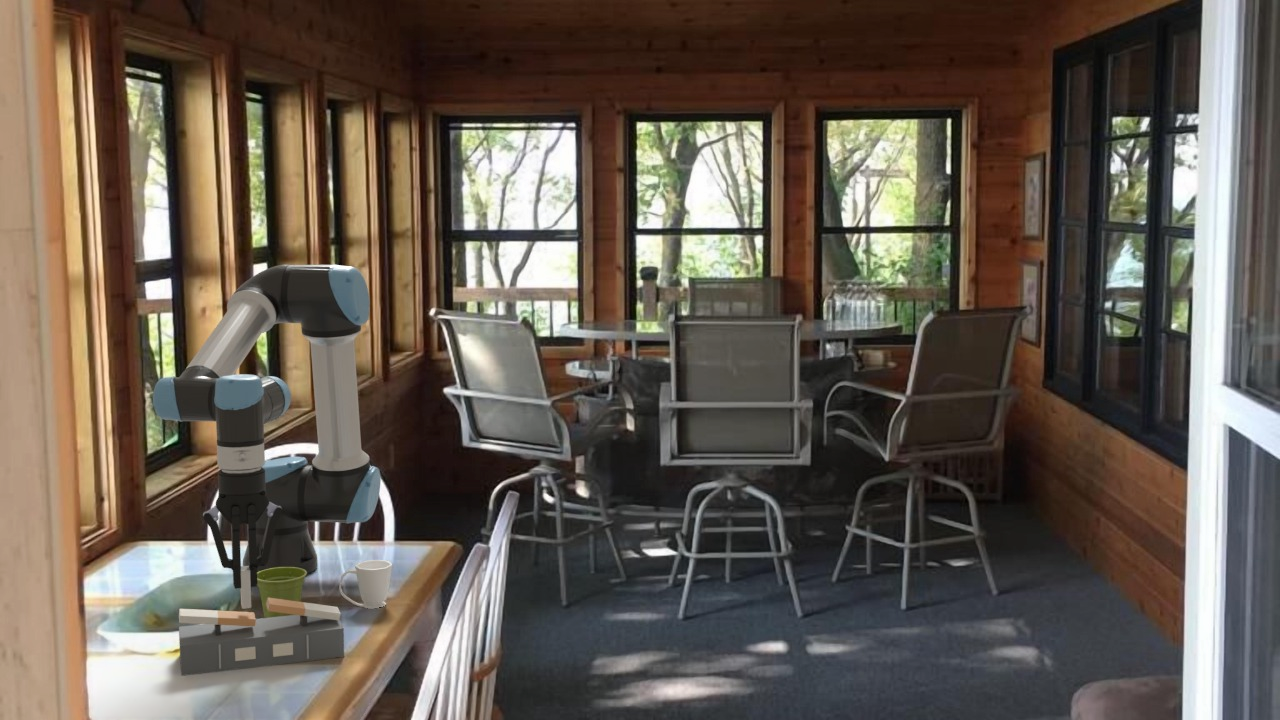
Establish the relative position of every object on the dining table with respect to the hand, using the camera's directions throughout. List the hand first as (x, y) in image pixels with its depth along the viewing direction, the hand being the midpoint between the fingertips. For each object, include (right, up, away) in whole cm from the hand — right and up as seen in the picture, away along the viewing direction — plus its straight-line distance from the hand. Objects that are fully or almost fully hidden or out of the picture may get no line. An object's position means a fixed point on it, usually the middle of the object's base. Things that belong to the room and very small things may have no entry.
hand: (246, 605), depth 216 cm
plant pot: (0, -7, +21) cm, 22 cm away
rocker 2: (+9, -1, +3) cm, 9 cm away
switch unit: (+2, -9, +2) cm, 9 cm away
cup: (+14, -6, +29) cm, 33 cm away
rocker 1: (-4, -2, -2) cm, 5 cm away
